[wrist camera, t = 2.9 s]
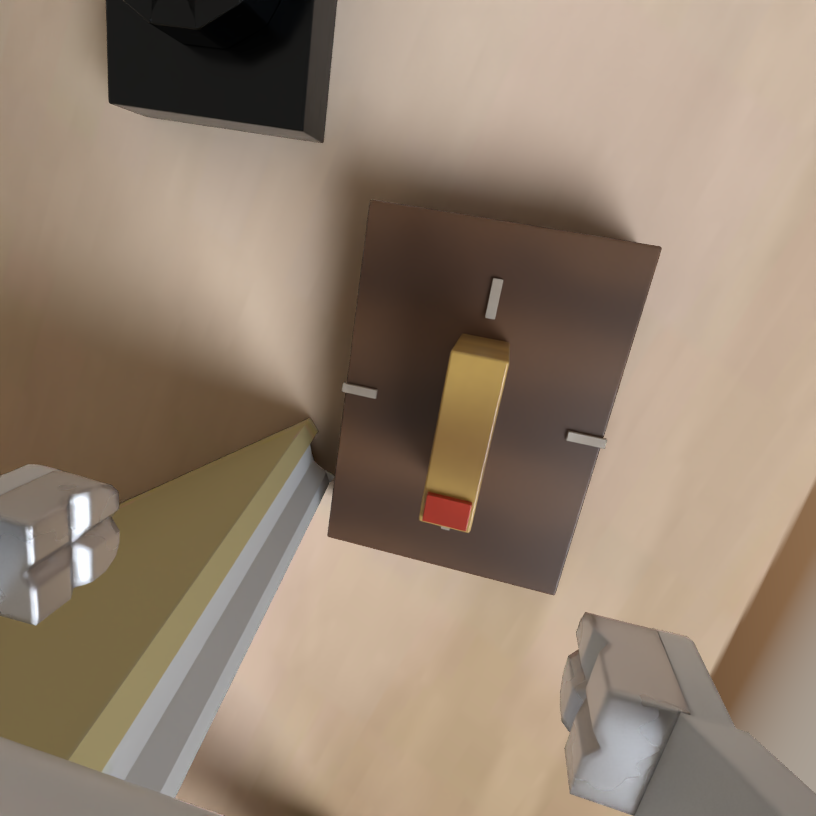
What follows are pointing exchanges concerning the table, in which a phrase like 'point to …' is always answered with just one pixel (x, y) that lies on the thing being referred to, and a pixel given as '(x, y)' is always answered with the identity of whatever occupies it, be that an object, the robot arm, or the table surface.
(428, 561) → the lock plate
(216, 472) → the book
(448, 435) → the thumb turn
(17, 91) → the table surface
